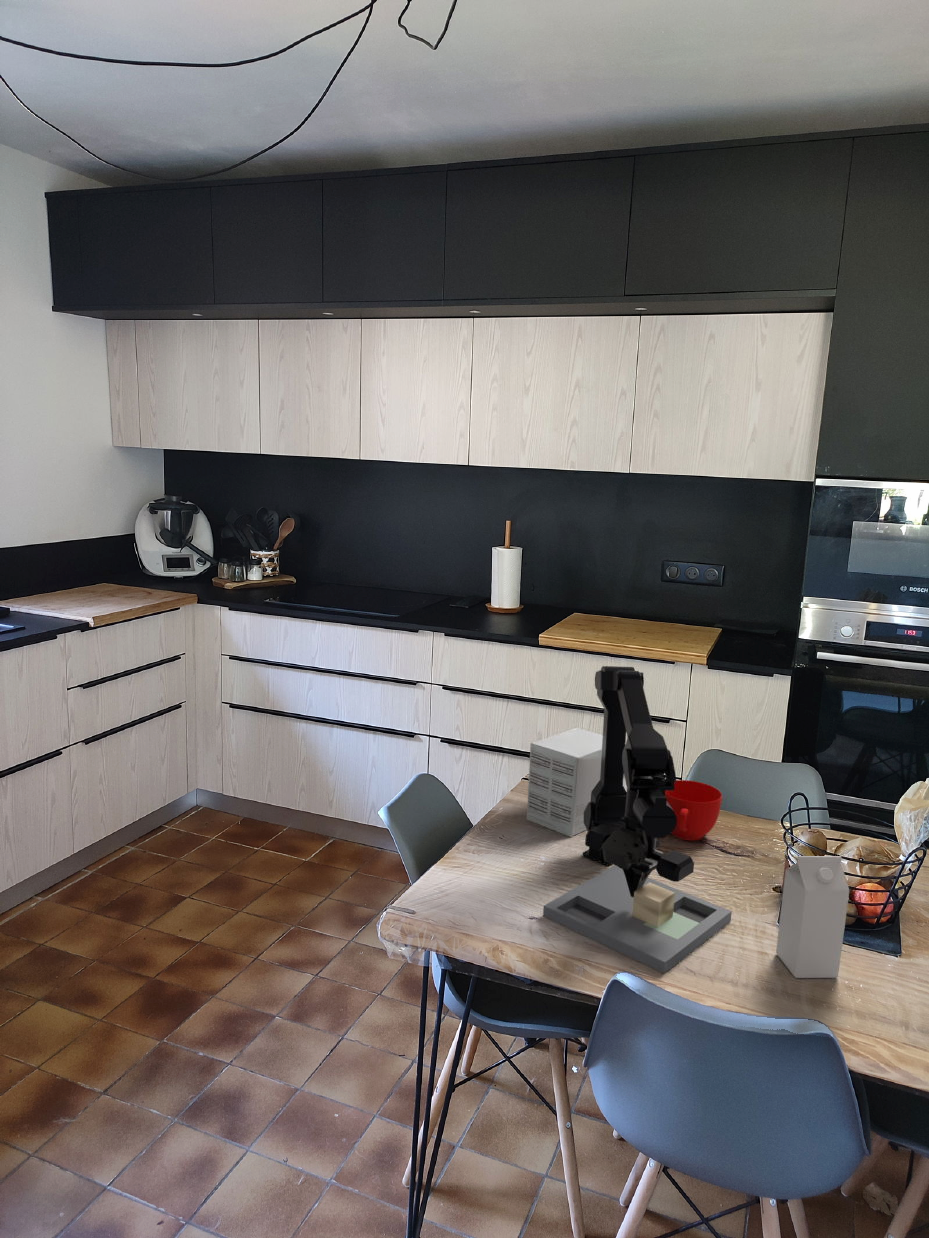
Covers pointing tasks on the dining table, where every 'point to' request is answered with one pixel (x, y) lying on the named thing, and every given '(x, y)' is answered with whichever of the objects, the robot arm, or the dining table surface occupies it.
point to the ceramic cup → (694, 808)
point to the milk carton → (813, 917)
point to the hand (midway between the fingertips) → (633, 896)
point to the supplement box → (563, 779)
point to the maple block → (653, 904)
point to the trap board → (636, 920)
